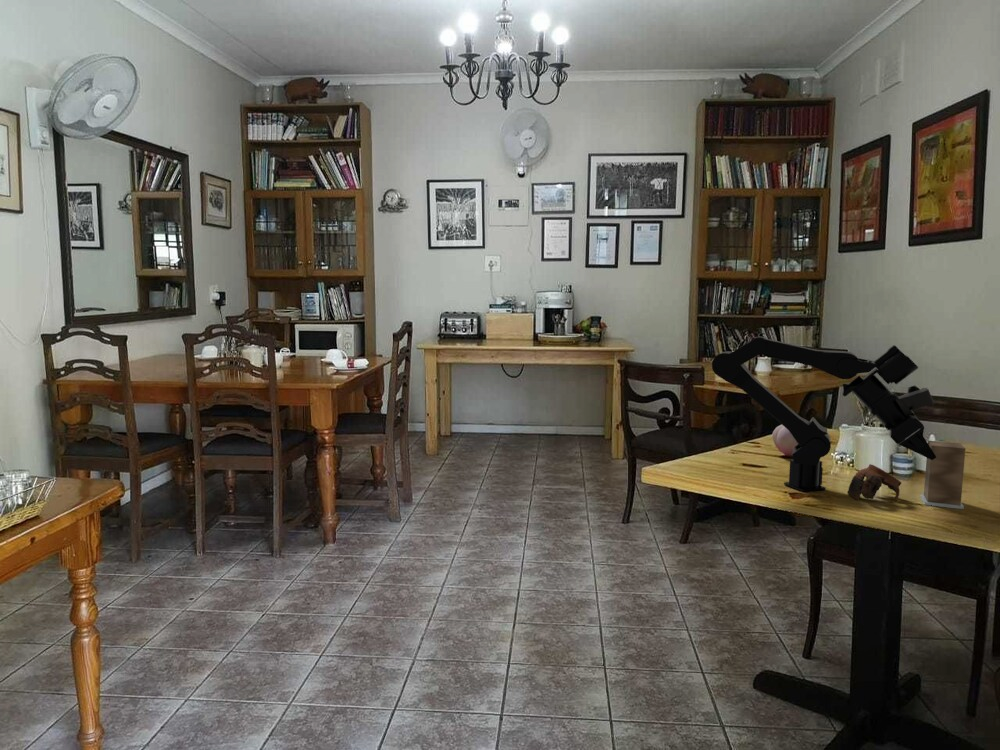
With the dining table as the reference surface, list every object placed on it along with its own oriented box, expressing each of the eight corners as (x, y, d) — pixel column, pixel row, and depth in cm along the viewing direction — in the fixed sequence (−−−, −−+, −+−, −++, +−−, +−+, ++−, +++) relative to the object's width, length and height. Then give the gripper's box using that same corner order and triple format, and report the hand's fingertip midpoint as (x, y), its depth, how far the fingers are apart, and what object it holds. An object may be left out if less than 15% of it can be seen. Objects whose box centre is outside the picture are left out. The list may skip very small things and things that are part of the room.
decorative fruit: (811, 460, 192) (813, 423, 191) (781, 460, 192) (783, 423, 191) (796, 452, 202) (798, 417, 201) (767, 452, 202) (769, 417, 200)
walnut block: (927, 501, 152) (931, 445, 151) (923, 494, 158) (928, 440, 156) (960, 505, 150) (965, 448, 148) (955, 498, 155) (960, 443, 154)
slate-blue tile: (924, 504, 152) (924, 501, 152) (920, 496, 158) (920, 493, 158) (963, 509, 149) (963, 506, 149) (957, 500, 156) (958, 497, 156)
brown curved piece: (844, 491, 164) (865, 461, 163) (885, 517, 159) (907, 486, 158) (841, 490, 153) (863, 457, 152) (884, 517, 149) (908, 483, 148)
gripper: (915, 378, 145) (974, 438, 142) (905, 370, 162) (958, 423, 159) (868, 413, 149) (924, 472, 146) (863, 402, 166) (913, 454, 163)
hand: (931, 454), depth 154 cm, fingers open, 9 cm apart
